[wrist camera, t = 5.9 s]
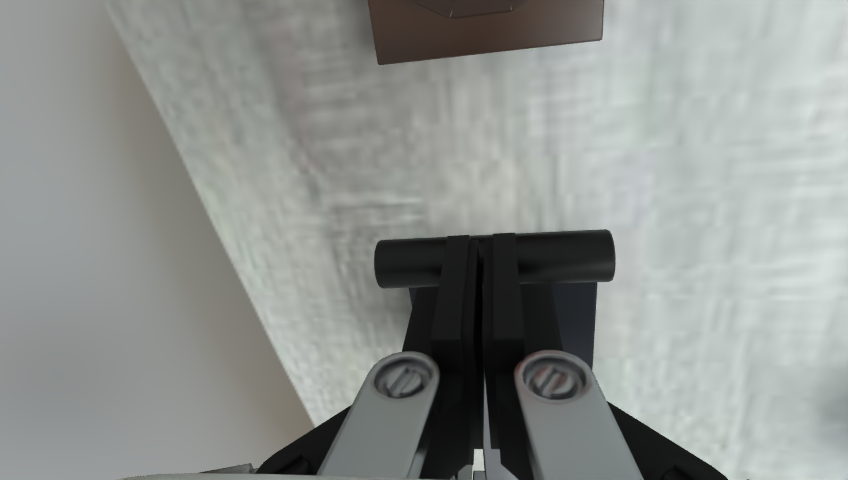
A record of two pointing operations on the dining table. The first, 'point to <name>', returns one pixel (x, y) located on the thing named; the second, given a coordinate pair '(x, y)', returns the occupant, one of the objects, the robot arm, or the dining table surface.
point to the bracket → (564, 326)
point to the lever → (537, 263)
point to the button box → (478, 26)
